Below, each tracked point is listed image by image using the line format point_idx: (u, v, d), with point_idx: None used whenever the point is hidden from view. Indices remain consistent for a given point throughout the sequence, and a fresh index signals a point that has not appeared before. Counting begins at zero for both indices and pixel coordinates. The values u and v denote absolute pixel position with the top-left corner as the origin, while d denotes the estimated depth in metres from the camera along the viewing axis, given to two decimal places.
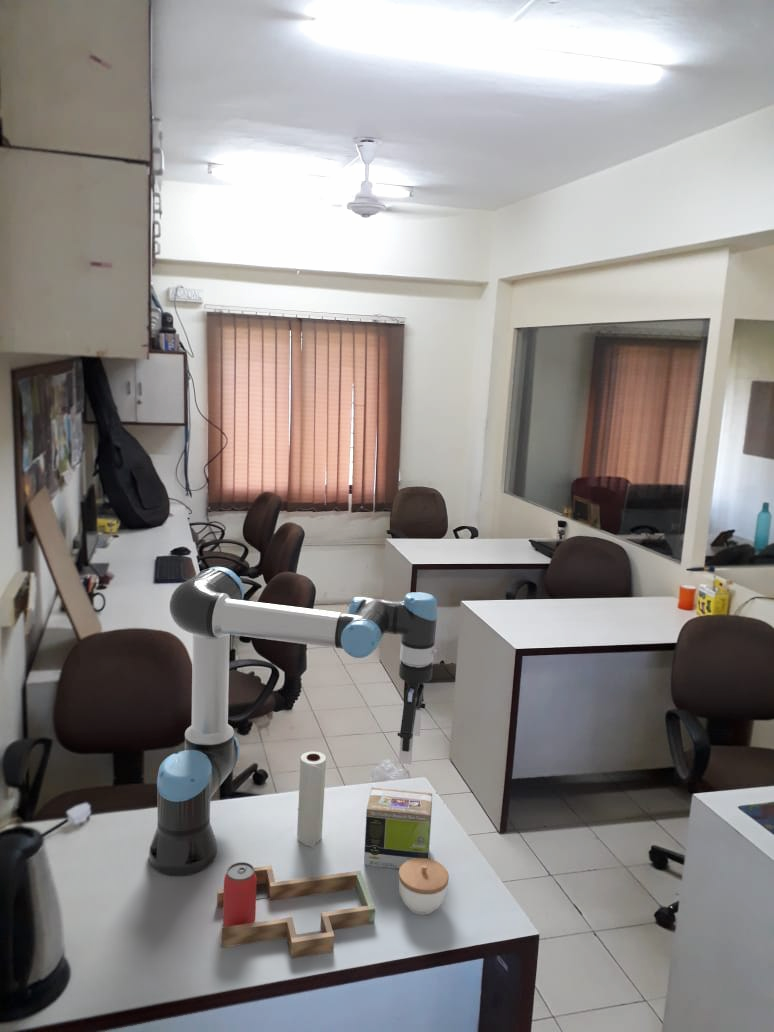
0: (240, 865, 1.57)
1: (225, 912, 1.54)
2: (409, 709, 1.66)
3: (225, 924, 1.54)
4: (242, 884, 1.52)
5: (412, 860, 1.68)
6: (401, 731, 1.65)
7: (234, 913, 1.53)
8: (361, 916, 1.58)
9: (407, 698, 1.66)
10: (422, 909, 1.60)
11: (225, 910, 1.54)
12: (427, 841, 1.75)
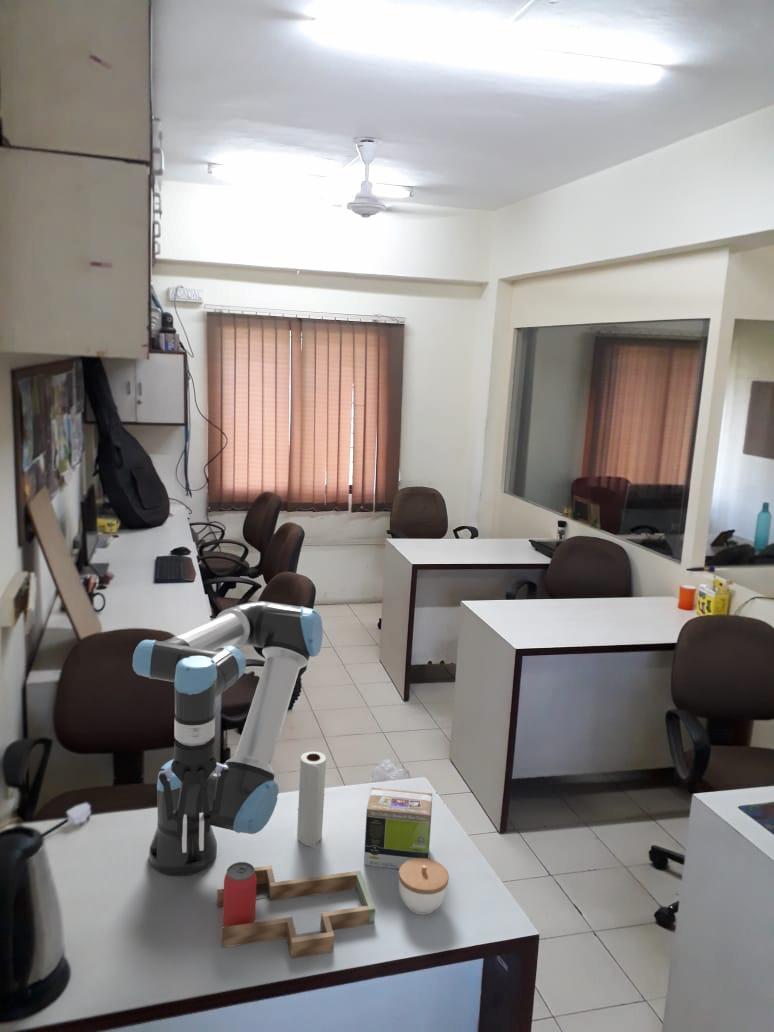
0: (240, 865, 1.57)
1: (225, 912, 1.54)
2: None
3: (225, 924, 1.54)
4: (242, 884, 1.52)
5: (412, 860, 1.68)
6: None
7: (234, 912, 1.53)
8: (361, 916, 1.58)
9: None
10: (422, 909, 1.60)
11: (225, 910, 1.54)
12: (427, 841, 1.75)
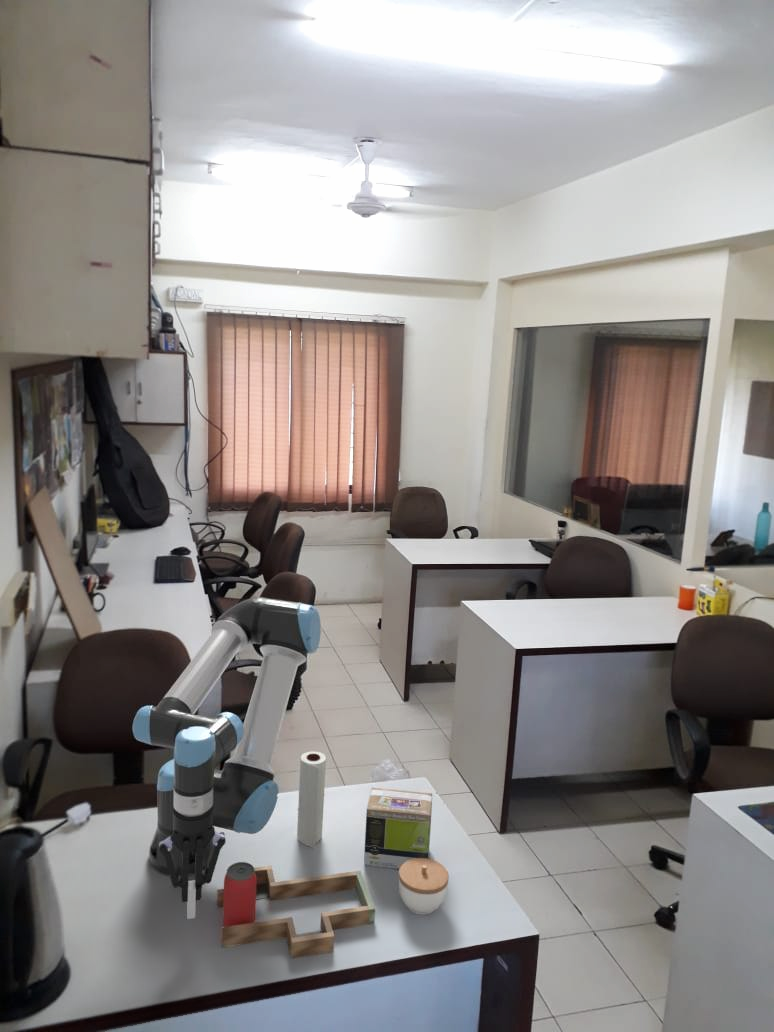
0: (240, 865, 1.57)
1: (225, 912, 1.54)
2: None
3: (225, 924, 1.54)
4: (242, 884, 1.52)
5: (412, 860, 1.68)
6: None
7: (234, 912, 1.53)
8: (361, 916, 1.58)
9: None
10: (422, 909, 1.60)
11: (225, 910, 1.54)
12: (427, 841, 1.75)
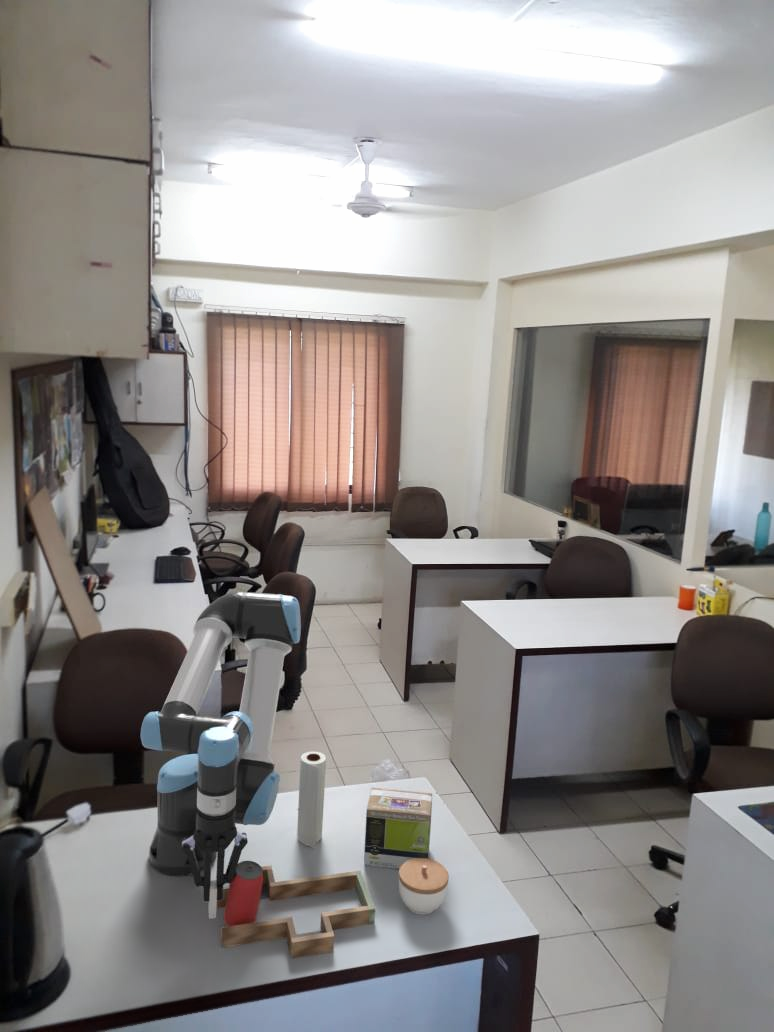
0: (248, 864, 1.57)
1: (228, 909, 1.54)
2: None
3: (226, 921, 1.54)
4: (250, 883, 1.52)
5: (412, 860, 1.68)
6: None
7: (237, 911, 1.53)
8: (361, 916, 1.58)
9: None
10: (422, 909, 1.60)
11: (228, 907, 1.54)
12: (427, 841, 1.75)
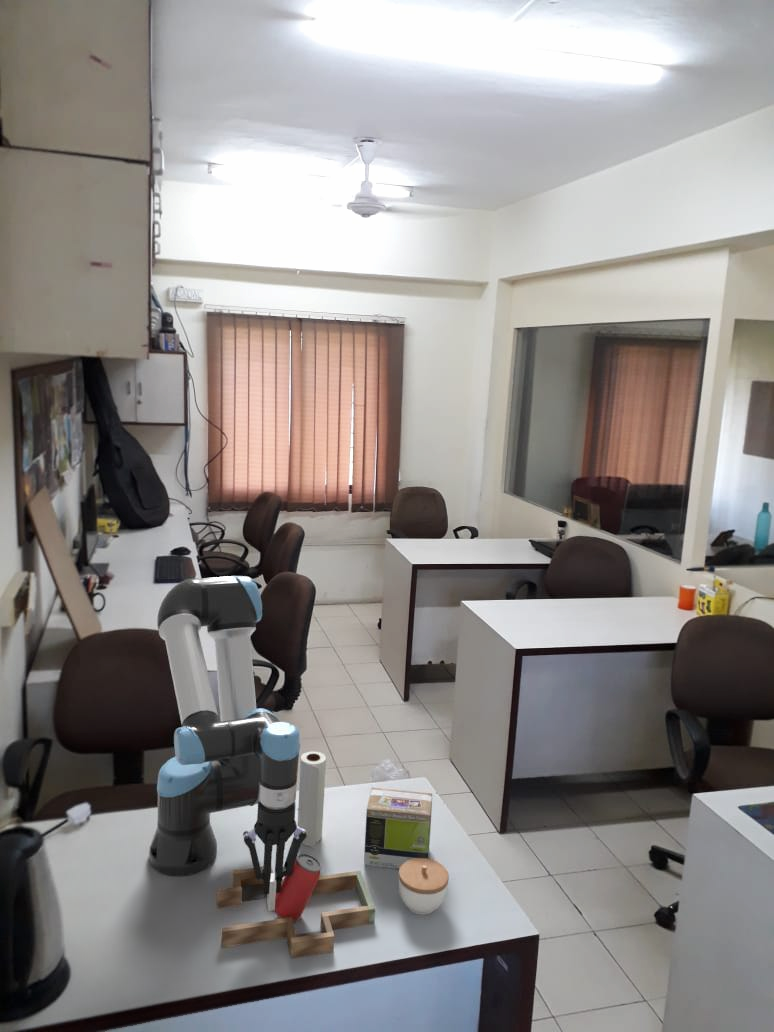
0: (306, 857, 1.60)
1: (282, 898, 1.56)
2: None
3: (277, 910, 1.56)
4: (311, 875, 1.55)
5: (412, 860, 1.68)
6: None
7: (292, 901, 1.55)
8: (361, 916, 1.58)
9: None
10: (422, 909, 1.60)
11: (282, 896, 1.56)
12: (427, 841, 1.75)
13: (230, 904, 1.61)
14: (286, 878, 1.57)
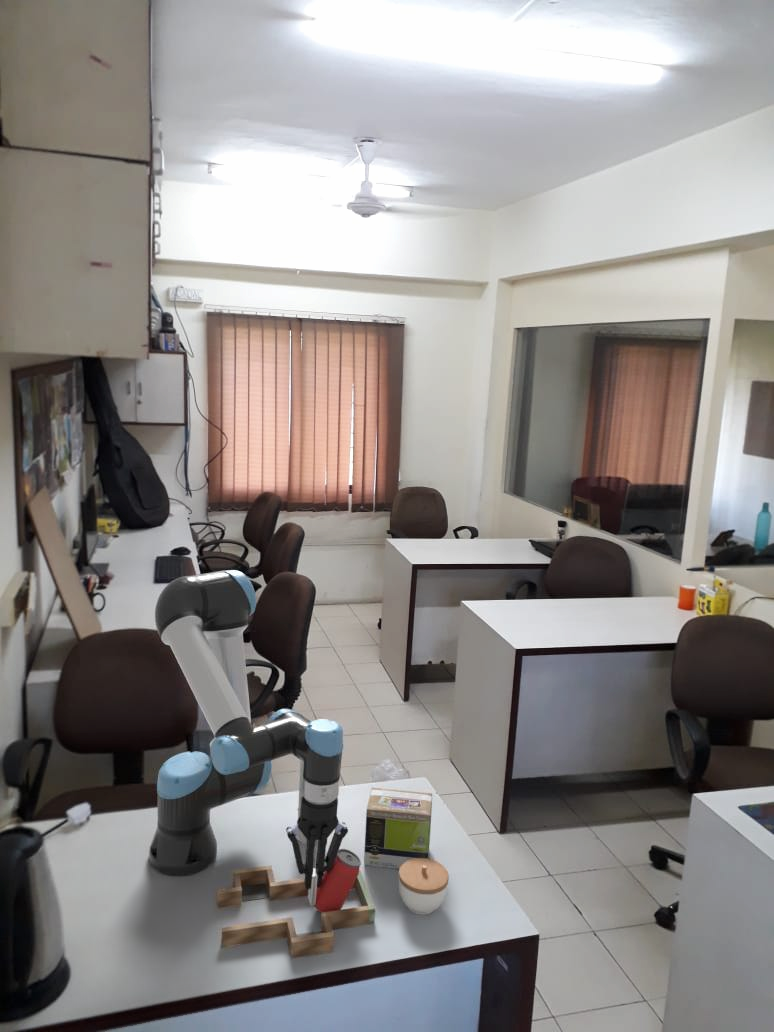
0: (345, 852, 1.62)
1: (322, 893, 1.59)
2: None
3: (317, 904, 1.59)
4: (352, 870, 1.58)
5: (412, 860, 1.68)
6: (296, 863, 1.58)
7: (333, 896, 1.58)
8: (361, 916, 1.58)
9: None
10: (422, 909, 1.60)
11: (323, 891, 1.59)
12: (427, 841, 1.75)
13: (230, 904, 1.61)
14: (326, 873, 1.59)
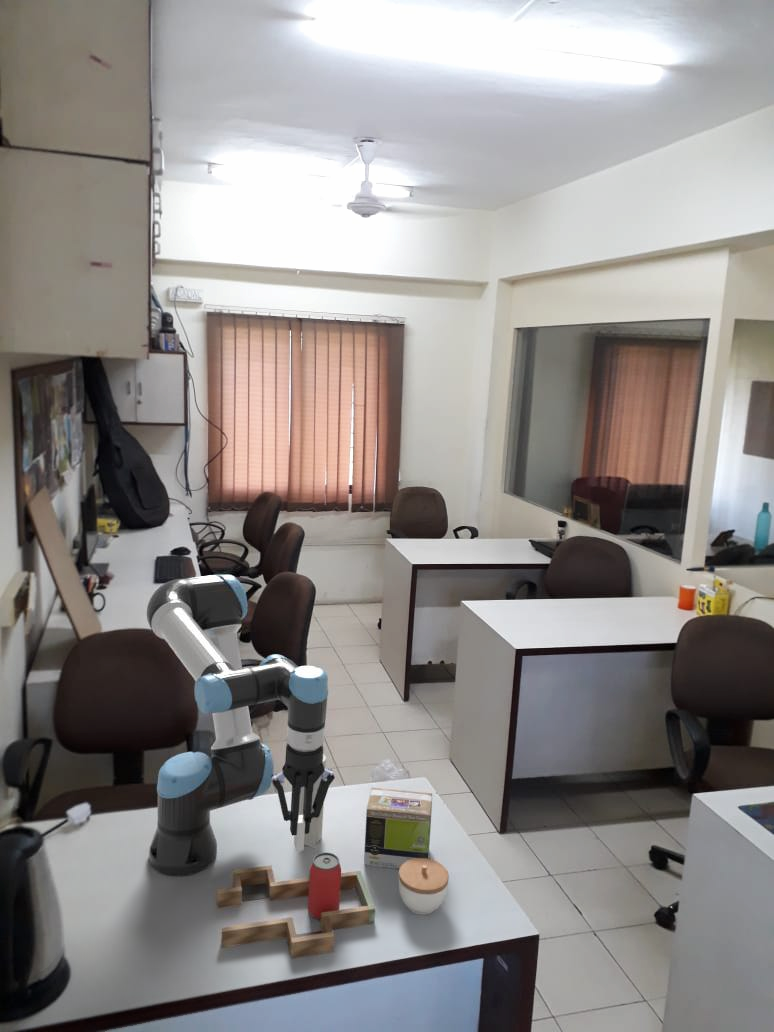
0: (323, 855, 1.61)
1: (312, 901, 1.59)
2: None
3: (312, 913, 1.59)
4: (330, 873, 1.57)
5: (412, 860, 1.68)
6: None
7: (322, 901, 1.58)
8: (361, 916, 1.58)
9: None
10: (422, 909, 1.60)
11: (312, 899, 1.59)
12: (427, 841, 1.75)
13: (230, 904, 1.61)
14: (310, 882, 1.59)
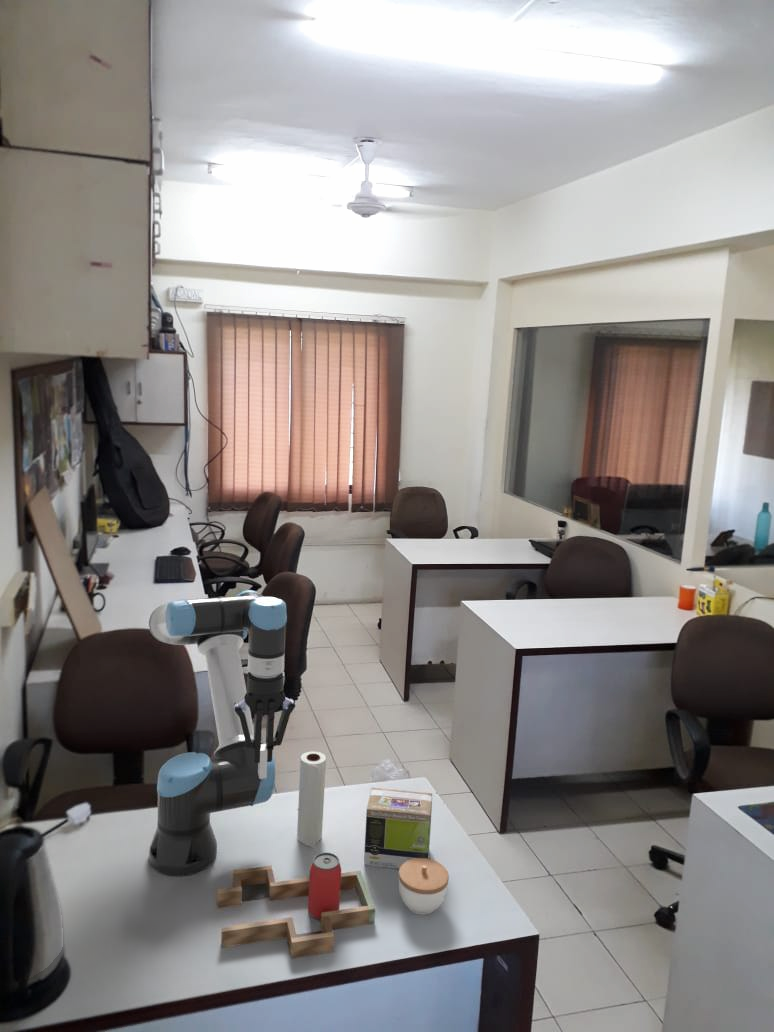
0: (324, 855, 1.61)
1: (312, 901, 1.59)
2: None
3: (312, 913, 1.59)
4: (330, 873, 1.57)
5: (412, 860, 1.68)
6: None
7: (322, 901, 1.58)
8: (361, 916, 1.58)
9: None
10: (422, 909, 1.60)
11: (312, 899, 1.59)
12: (427, 841, 1.75)
13: (230, 904, 1.61)
14: (310, 882, 1.59)
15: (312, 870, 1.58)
